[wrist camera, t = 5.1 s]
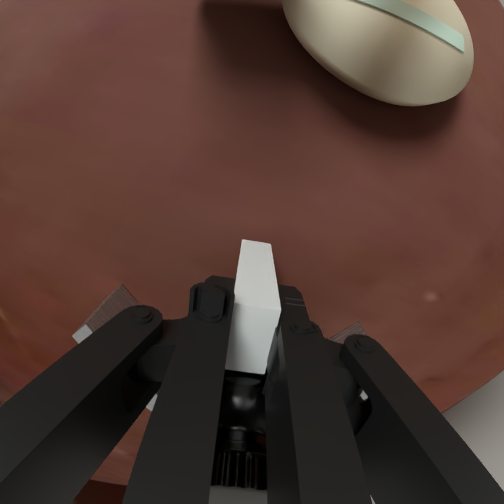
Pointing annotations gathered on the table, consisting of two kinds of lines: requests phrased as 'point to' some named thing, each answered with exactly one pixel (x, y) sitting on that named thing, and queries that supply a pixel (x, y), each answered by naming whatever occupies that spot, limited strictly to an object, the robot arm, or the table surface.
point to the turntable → (388, 46)
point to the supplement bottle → (240, 442)
